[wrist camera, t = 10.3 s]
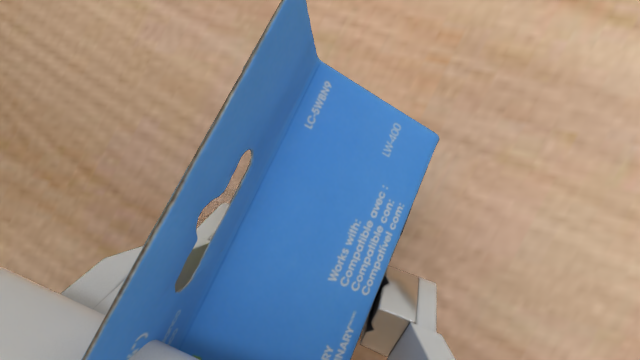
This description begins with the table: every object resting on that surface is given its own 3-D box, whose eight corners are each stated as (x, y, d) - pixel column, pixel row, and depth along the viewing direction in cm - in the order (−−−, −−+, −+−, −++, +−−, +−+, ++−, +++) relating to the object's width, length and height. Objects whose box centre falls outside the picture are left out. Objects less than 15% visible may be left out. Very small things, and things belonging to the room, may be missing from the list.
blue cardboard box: (328, 359, 15) (261, 767, 3) (256, 321, 16) (-25, 545, 4) (398, 190, 17) (534, 37, 5) (330, 161, 17) (293, -38, 5)
